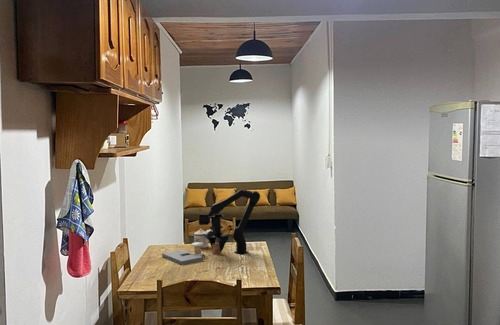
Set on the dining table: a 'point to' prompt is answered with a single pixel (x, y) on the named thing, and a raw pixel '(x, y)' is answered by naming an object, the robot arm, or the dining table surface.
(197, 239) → the white printed mug
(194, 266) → the dining table surface
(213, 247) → the brown rectangular block
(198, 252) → the spool
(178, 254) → the slotted board
